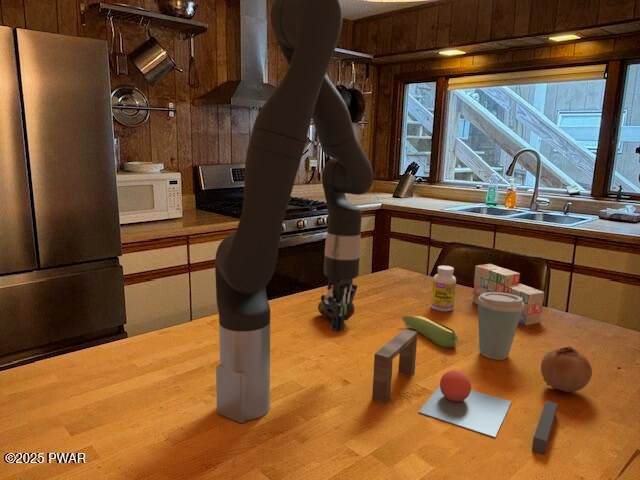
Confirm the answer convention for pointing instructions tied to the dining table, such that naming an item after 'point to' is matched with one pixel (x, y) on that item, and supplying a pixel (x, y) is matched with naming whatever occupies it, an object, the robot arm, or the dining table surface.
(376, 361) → the bridge
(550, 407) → the wall
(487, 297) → the disposable coffee cup
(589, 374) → the onion
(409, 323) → the edible corn
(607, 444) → the dining table surface
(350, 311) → the potato
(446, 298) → the supplement bottle
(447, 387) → the ball
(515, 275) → the stack of blocks
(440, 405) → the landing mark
